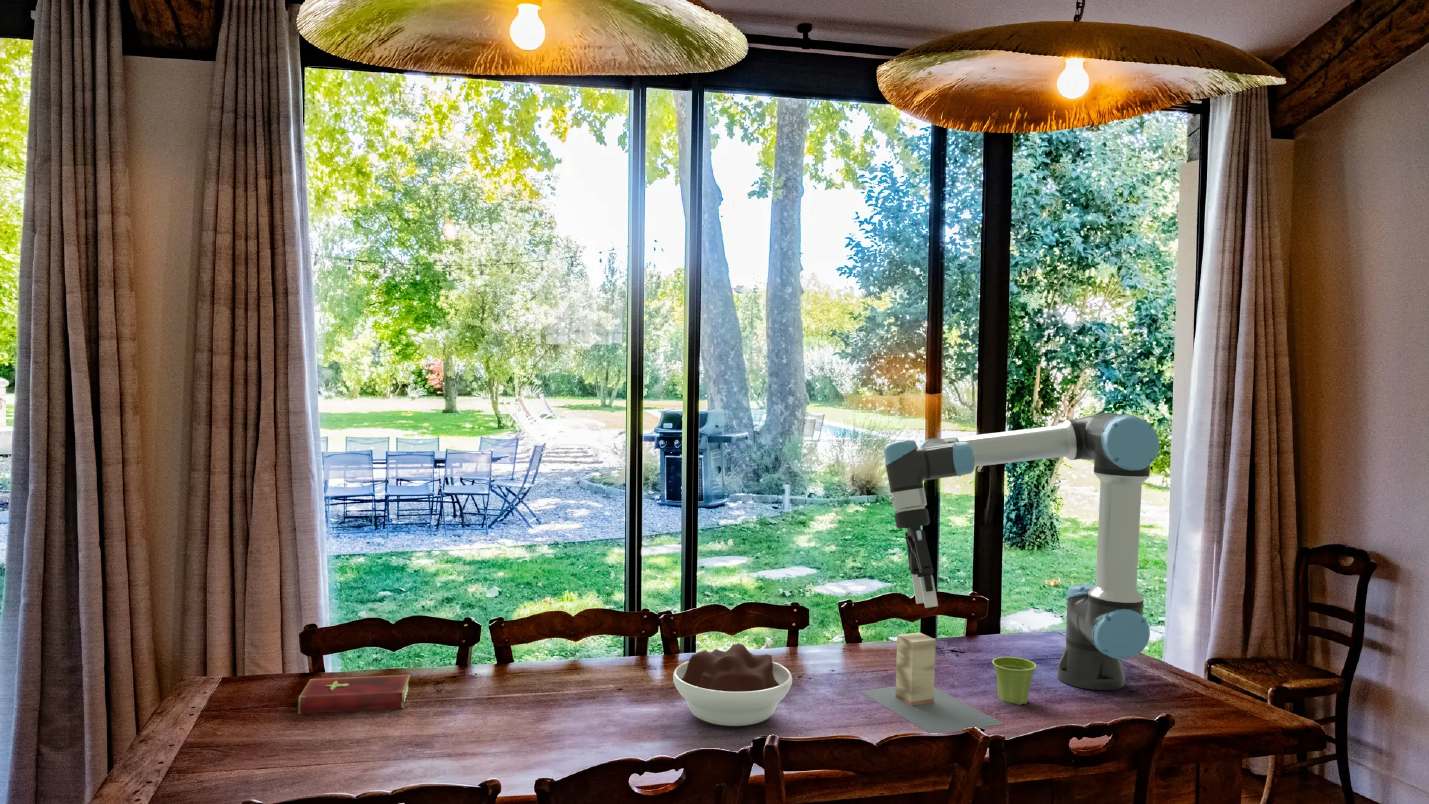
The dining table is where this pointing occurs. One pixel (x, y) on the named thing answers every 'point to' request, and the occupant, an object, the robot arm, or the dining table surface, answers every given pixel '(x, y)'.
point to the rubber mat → (934, 711)
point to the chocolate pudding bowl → (732, 686)
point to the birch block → (915, 668)
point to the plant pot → (1013, 678)
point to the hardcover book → (353, 694)
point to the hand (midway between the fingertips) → (926, 605)
